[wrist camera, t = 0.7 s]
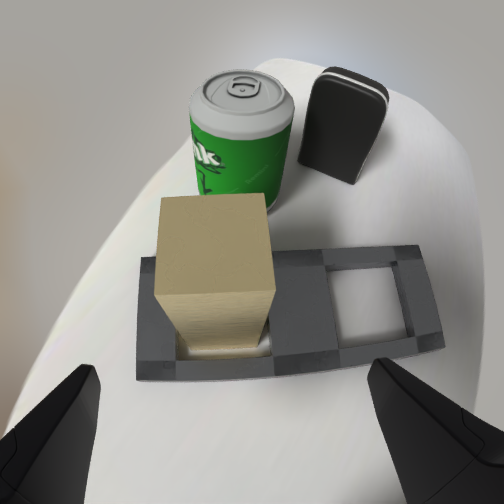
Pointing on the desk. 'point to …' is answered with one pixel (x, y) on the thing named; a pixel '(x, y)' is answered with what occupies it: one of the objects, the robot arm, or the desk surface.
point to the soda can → (241, 133)
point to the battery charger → (342, 123)
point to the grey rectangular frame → (296, 320)
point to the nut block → (215, 268)
